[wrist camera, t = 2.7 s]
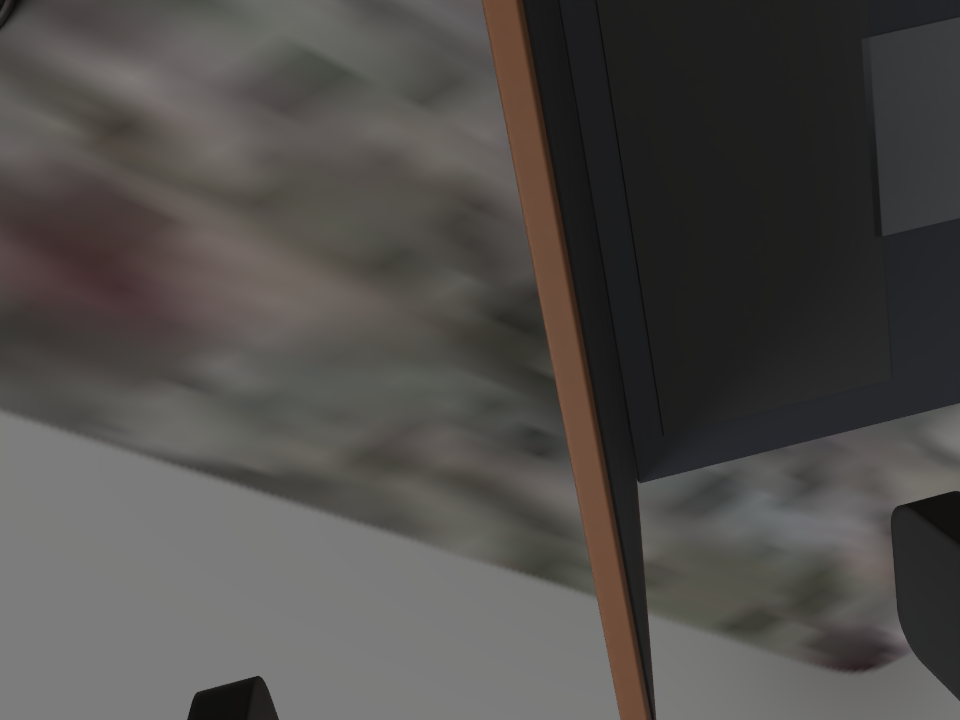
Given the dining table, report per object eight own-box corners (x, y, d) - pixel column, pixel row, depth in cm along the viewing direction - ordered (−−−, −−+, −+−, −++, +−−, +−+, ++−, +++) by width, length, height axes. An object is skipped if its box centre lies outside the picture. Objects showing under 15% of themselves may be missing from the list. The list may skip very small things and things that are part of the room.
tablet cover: (459, -346, 18) (417, -333, 18) (666, 804, 27) (636, 806, 27) (534, -143, 37) (513, -137, 37) (639, 484, 47) (622, 485, 47)
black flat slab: (970, -224, 40) (998, -239, 38) (987, 380, 49) (1011, 391, 48) (526, -132, 39) (534, -143, 37) (629, 470, 48) (639, 484, 46)
